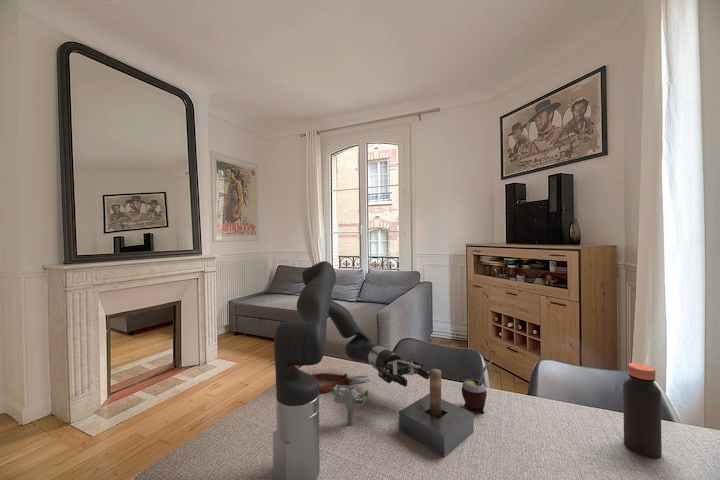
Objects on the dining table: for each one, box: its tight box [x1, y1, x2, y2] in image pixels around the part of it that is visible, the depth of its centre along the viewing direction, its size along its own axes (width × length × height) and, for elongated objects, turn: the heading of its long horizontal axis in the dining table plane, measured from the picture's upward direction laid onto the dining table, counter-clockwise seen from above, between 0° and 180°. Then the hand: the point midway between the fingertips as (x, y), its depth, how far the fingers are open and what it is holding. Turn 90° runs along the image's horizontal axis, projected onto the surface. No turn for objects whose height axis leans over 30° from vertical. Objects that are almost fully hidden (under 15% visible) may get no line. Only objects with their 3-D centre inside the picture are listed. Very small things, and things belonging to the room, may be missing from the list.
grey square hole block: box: [398, 393, 475, 458], centre depth 81 cm, size 14×14×5 cm
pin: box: [429, 368, 442, 419], centre depth 81 cm, size 3×3×16 cm
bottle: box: [622, 362, 663, 459], centre depth 74 cm, size 7×7×20 cm
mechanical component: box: [331, 385, 369, 427], centre depth 84 cm, size 3×10×10 cm, turn 79°
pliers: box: [311, 372, 371, 395], centre depth 108 cm, size 12×21×3 cm, turn 103°
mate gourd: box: [461, 359, 494, 415], centre depth 92 cm, size 8×8×15 cm
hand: (417, 379), depth 87 cm, fingers open, 8 cm apart
